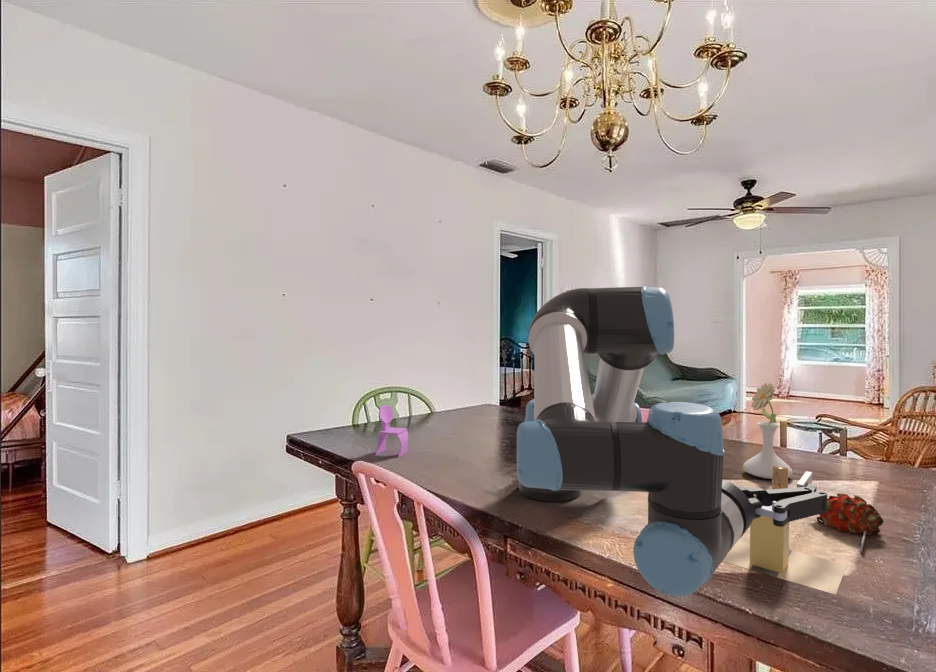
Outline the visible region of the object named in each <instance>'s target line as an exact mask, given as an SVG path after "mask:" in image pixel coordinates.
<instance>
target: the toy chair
mask: <svg viewBox="0 0 936 672" xmlns="http://www.w3.org/2000/svg"><path fill="white" fill-rule="evenodd" d="M378 418H379V420H380V423H381V427H382V430H380V431H378V435H377V446H376V451H375V453H374V455H375V456H377V455H378V454H380V453H382V452H384V451H386V448H387V447H386V445H387V443H386V442H387V438H388V436H392V437H393V436H394V437H396V438H397V439H398V441H399V444H400V448H399V452H398V456H397V458H400V457H402V456H404V455H405V454H407V453H408V452H409V432H408V428H406V427H393V426H391V425H390V423H391V421H392V420H394V409H393V408H392V406H391V405H388V404H384V405H381V406H380V407H379V410H378Z"/></svg>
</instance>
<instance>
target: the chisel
mask: <svg viewBox="0 0 936 672" xmlns="http://www.w3.org/2000/svg"><path fill="white" fill-rule="evenodd" d="M788 480H789V477H788V468H786V467H783V466H773V472H772V479H771V481H772V482H771V483H772V484H771V490H772V489H784V488H789V485H788V483H789V481H788Z"/></svg>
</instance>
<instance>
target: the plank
mask: <svg viewBox="0 0 936 672" xmlns="http://www.w3.org/2000/svg"><path fill="white" fill-rule="evenodd" d="M640 533H641V531H639V533H638V534H636V535H635V537H636V538H637V537H638V536H639V534H640ZM722 562H723V563H726V564H730V565H732V566H736V567H738V568H739V567H740V568H743V569H746V570H750V571H753V572H756V573H761V574H764V575H766V576H771V577H773V578H777V579H780V580H785V581H788V582H790V583H794V584H798V585H800V586H801V585H802V586H804V587H808V588H810V589H813V590H818V591H821V592H825V593H828V594H831V595H835V596H836V595H837V592H838V590H839V588H840V587H839V586H840V585H841V581H842V579H843V576H844V574H845V571H846V568H847V564H845V563H842V562H837V561H833V560H829V559H826V558H822V557H818V556H815V555H810V554H806V553H803V552H799V551H795V550H791V549H789V554H788V566H787V567H786V569H785V571H784V573H779V572H776V571H772V570H769V569H765V568H762V567H758V566H755V565H752V564H750V538H744V537H743V536H742V537H741V538H740V539H739V540H738V541H737V543H736V544H735V545H734V546H733V548H732V549H731V550H730V551H729V552H728V553H727V555H726V557H725V558H724V559H723V561H722ZM722 562H721V563H722Z"/></svg>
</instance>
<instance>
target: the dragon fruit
mask: <svg viewBox="0 0 936 672" xmlns="http://www.w3.org/2000/svg"><path fill="white" fill-rule="evenodd" d="M818 515H819V516H817V517H816V521H817V522H818V523H820V524H821V525H823V526H824V527H832V528H835V529H837V531H838V533H841V532H846V533H847V534H851V533H852V534H861V535H863V534H864V531H866V535H867V536H868V535H869V536H870V535H878V534H879V533H880V532H882V531H881V529H880V527H881V526H882V525H884V520H883V517H882V516H881V514H880V513H879V512H878V511H877V509H876V508H875V507H874V506H873V505H872V504H870V503H868V502H867V501H866V500H865V499H863V498H862V497H861V496H859V495H856V494H854V495H853V497H851V496H849V494H847V493H841V492H839V493H836V495H829V496H828V497H827V512H826V513H822V514H818Z"/></svg>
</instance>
